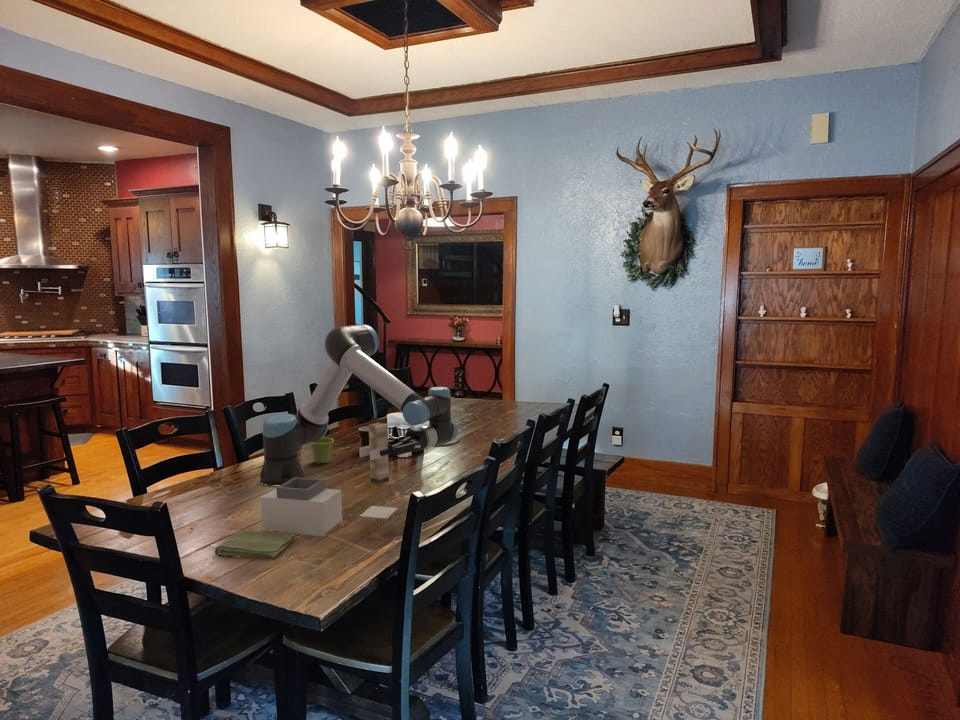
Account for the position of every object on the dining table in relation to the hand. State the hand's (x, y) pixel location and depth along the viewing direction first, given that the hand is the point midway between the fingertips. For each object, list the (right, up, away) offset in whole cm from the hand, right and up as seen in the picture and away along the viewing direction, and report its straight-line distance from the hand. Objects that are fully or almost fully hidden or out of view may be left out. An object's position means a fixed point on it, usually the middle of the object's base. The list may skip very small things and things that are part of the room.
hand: (365, 454), depth 187 cm
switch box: (-18, -21, -3) cm, 28 cm away
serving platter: (+7, -9, +97) cm, 98 cm away
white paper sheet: (+3, -20, +7) cm, 21 cm away
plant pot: (-29, -13, +64) cm, 71 cm away
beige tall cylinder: (+3, -9, +5) cm, 11 cm away
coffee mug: (-13, -11, +80) cm, 82 cm away
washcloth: (-27, -23, -18) cm, 40 cm away
